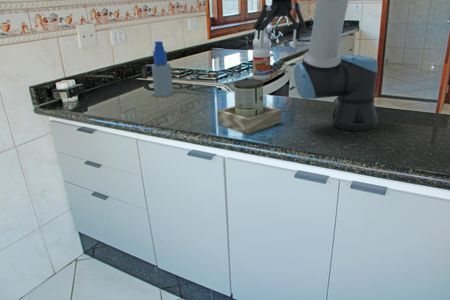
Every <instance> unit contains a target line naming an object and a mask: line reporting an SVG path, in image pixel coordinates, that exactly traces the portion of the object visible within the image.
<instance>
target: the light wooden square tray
mask: <svg viewBox="0 0 450 300" xmlns="http://www.w3.org/2000/svg"><path fill="white" fill-rule="evenodd" d="M278 123H280V124H281V123H282V109H280V108H276V107H271V106H267V105H265V104H263V114H260V115H257V116H253V117H250V118H246V117H243V116H239V115H236V114H235V105H234V106H231V107H226V108H222V109H219V110H217V124H218V125H220V126H223V127H226V128H229V129H231V130H234V131H237V132H240V133H243V134H246V135H250V134H254V133H256V132H259V130H260V131H261V130H264V129H268V128H271V127H273V125H274V126H276V125H275V124H277V125H279V124H278ZM270 126H271V127H270ZM267 127H268V128H267Z"/></svg>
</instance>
